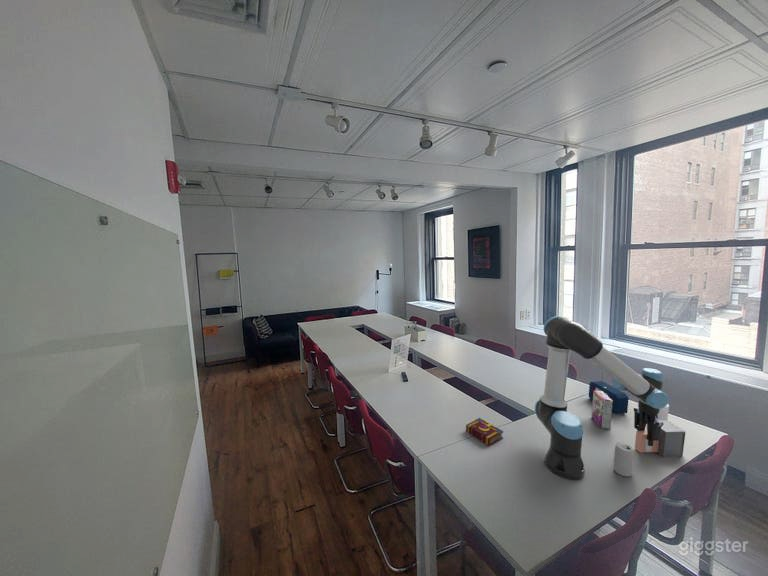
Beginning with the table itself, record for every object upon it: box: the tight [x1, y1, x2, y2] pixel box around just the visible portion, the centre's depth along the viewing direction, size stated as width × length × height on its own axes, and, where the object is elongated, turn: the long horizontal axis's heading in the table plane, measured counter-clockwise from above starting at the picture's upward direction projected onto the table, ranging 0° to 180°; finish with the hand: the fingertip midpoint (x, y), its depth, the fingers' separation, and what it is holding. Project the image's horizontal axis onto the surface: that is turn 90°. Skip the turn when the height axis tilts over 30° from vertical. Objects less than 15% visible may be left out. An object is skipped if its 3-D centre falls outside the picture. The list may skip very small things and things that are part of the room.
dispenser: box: [657, 420, 687, 458], centre depth 143 cm, size 9×9×12 cm
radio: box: [588, 371, 630, 415], centre depth 182 cm, size 21×9×20 cm, turn 6°
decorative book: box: [465, 417, 504, 447], centre depth 158 cm, size 11×16×5 cm
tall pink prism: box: [634, 430, 660, 453], centre depth 143 cm, size 16×3×9 cm, turn 91°
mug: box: [657, 403, 670, 421], centre depth 170 cm, size 8×12×10 cm
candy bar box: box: [591, 390, 613, 430], centre depth 165 cm, size 11×5×16 cm, turn 168°
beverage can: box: [612, 442, 635, 477], centre depth 130 cm, size 6×6×12 cm
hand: (644, 448), depth 143 cm, fingers closed on tall pink prism, 3 cm apart
